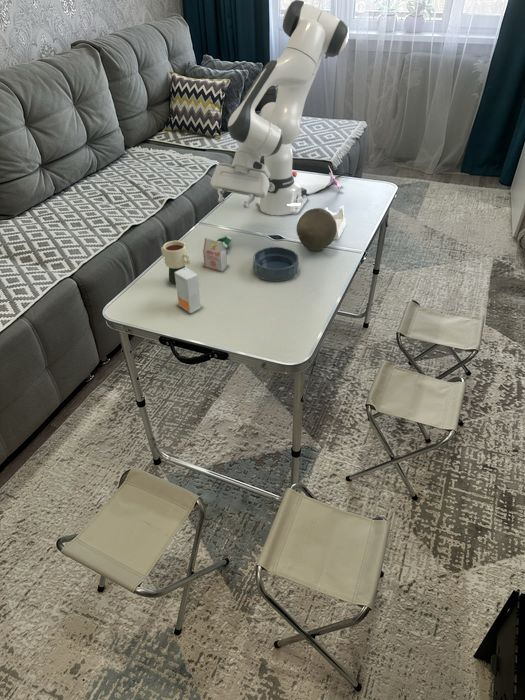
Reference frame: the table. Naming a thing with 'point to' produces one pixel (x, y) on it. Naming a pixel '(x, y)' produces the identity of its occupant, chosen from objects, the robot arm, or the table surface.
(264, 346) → the table surface
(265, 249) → the bowl
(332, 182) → the lily
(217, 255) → the white printed carton
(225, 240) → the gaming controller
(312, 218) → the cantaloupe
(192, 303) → the cosmetic box
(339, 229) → the bracket
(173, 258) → the character mug
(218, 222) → the table surface
